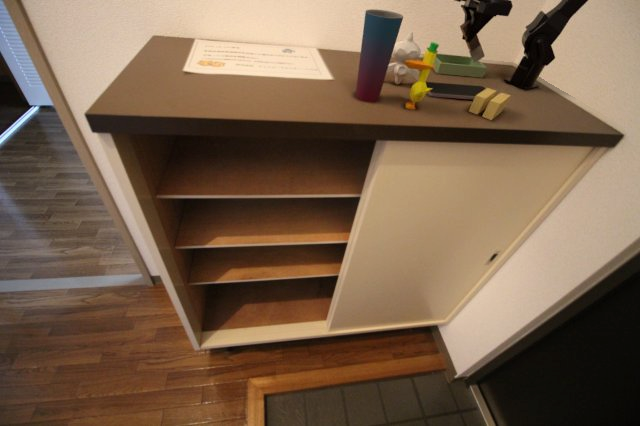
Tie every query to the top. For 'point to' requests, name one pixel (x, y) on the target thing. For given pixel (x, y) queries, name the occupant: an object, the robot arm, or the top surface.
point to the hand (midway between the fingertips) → (465, 40)
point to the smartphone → (453, 90)
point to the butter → (489, 103)
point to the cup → (376, 51)
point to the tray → (458, 66)
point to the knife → (472, 43)
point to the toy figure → (421, 74)
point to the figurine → (404, 58)
